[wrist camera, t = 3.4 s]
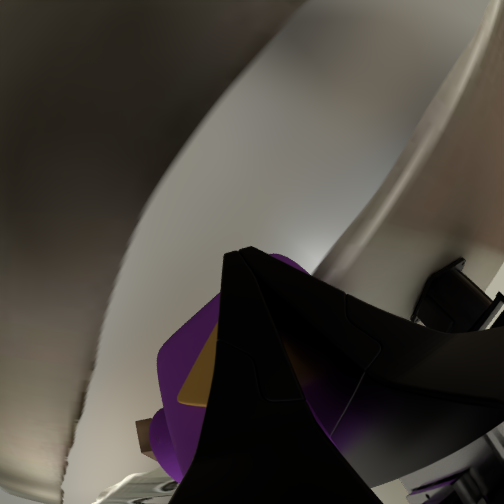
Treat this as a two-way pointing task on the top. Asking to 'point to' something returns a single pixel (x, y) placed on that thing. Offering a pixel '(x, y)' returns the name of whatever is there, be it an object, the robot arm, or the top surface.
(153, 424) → the toy camera
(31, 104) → the top surface
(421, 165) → the top surface
